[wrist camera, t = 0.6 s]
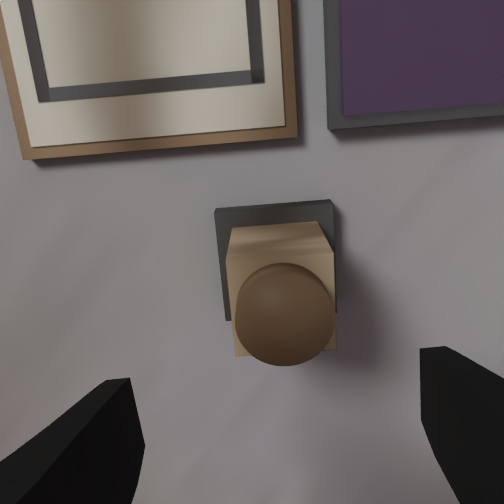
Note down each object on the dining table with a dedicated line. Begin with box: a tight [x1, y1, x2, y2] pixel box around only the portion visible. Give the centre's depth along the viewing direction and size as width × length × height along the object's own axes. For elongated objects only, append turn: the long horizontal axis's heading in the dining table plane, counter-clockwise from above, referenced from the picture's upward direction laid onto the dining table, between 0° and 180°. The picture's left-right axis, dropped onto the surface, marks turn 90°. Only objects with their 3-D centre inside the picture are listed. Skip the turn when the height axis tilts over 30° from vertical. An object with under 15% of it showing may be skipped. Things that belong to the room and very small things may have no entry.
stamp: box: [214, 199, 337, 366], centre depth 18 cm, size 5×5×7 cm
